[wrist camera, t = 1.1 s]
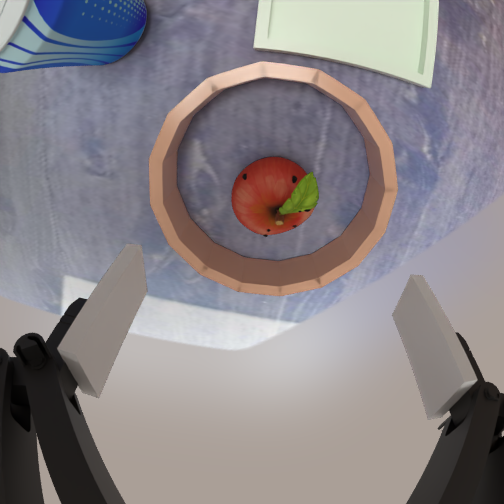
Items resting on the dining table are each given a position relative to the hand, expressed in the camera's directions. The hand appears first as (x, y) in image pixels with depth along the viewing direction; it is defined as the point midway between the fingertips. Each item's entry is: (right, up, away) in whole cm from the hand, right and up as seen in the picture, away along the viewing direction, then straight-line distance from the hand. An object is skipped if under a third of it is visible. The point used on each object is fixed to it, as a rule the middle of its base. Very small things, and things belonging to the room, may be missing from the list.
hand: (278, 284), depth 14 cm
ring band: (+1, +9, +14) cm, 17 cm away
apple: (+1, +9, +14) cm, 17 cm away
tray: (+8, +25, +4) cm, 26 cm away
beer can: (-15, +23, +6) cm, 28 cm away
